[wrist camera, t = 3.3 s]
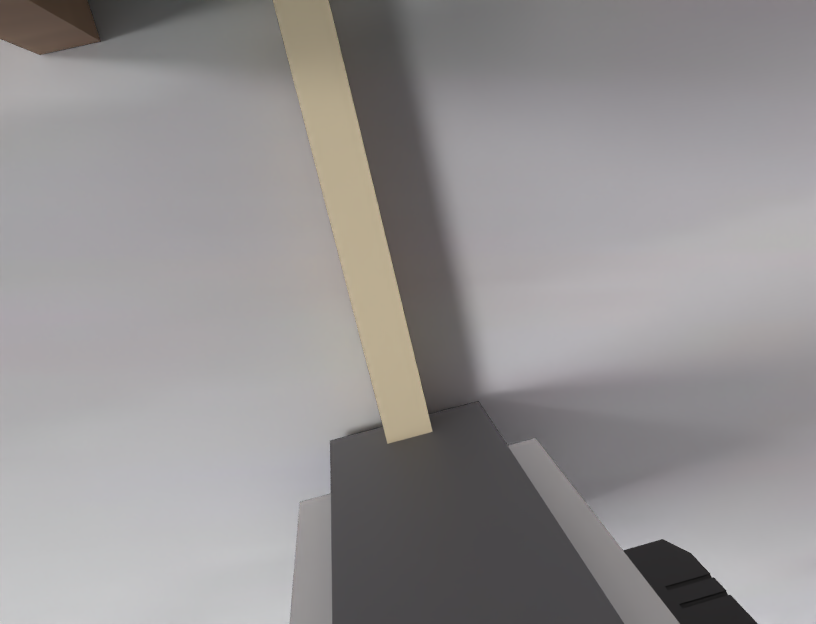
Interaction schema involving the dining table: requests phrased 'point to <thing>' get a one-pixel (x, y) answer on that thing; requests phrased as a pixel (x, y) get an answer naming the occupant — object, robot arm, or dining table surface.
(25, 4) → the shelf
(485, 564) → the double-ended block stick
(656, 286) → the dining table surface
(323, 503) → the robot arm
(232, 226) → the dining table surface
